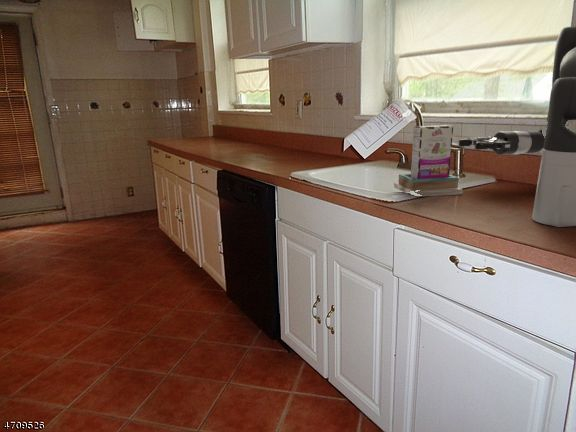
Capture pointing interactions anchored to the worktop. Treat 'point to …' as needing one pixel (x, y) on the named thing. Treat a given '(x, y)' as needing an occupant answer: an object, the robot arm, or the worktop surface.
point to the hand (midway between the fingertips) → (467, 144)
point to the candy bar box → (431, 151)
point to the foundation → (429, 185)
